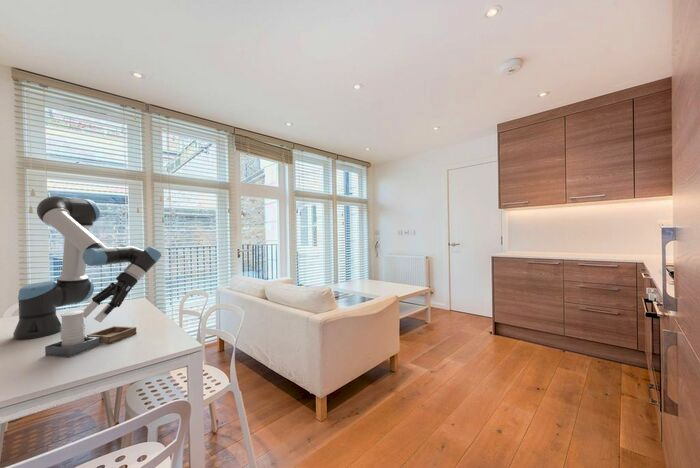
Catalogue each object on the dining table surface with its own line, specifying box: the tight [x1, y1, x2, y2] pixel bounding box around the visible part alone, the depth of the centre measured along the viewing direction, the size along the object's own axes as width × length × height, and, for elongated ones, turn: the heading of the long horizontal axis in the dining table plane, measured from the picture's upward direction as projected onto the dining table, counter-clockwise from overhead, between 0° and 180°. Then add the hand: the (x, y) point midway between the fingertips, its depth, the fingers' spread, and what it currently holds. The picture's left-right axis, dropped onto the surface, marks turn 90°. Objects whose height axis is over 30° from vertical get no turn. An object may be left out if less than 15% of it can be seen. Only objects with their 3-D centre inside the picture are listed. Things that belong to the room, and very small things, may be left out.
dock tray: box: [86, 325, 137, 345], centre depth 127 cm, size 12×12×3 cm
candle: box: [60, 310, 86, 347], centre depth 113 cm, size 7×7×15 cm
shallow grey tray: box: [44, 336, 100, 359], centre depth 113 cm, size 11×11×4 cm
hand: (89, 318), depth 117 cm, fingers open, 13 cm apart
